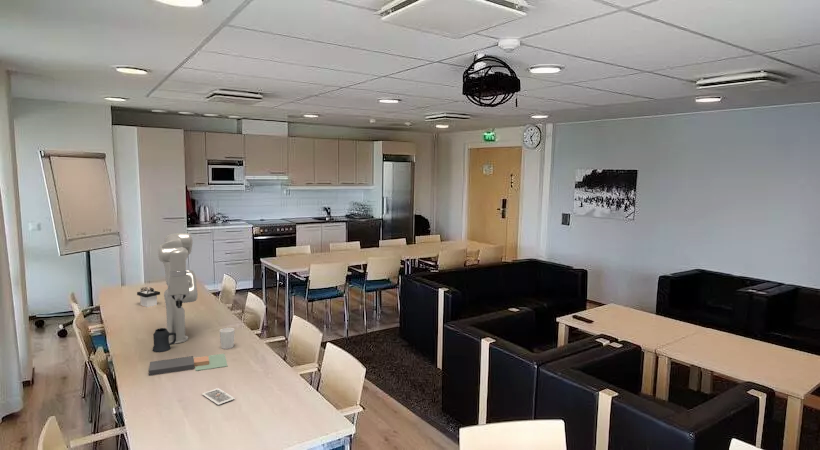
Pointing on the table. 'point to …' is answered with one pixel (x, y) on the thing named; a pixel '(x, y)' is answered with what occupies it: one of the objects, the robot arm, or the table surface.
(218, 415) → the table surface
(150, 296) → the black-topped pedestal
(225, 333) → the white cup
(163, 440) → the table surface
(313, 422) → the table surface
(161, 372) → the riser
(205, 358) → the terracotta tile
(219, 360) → the mat
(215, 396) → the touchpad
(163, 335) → the mug
